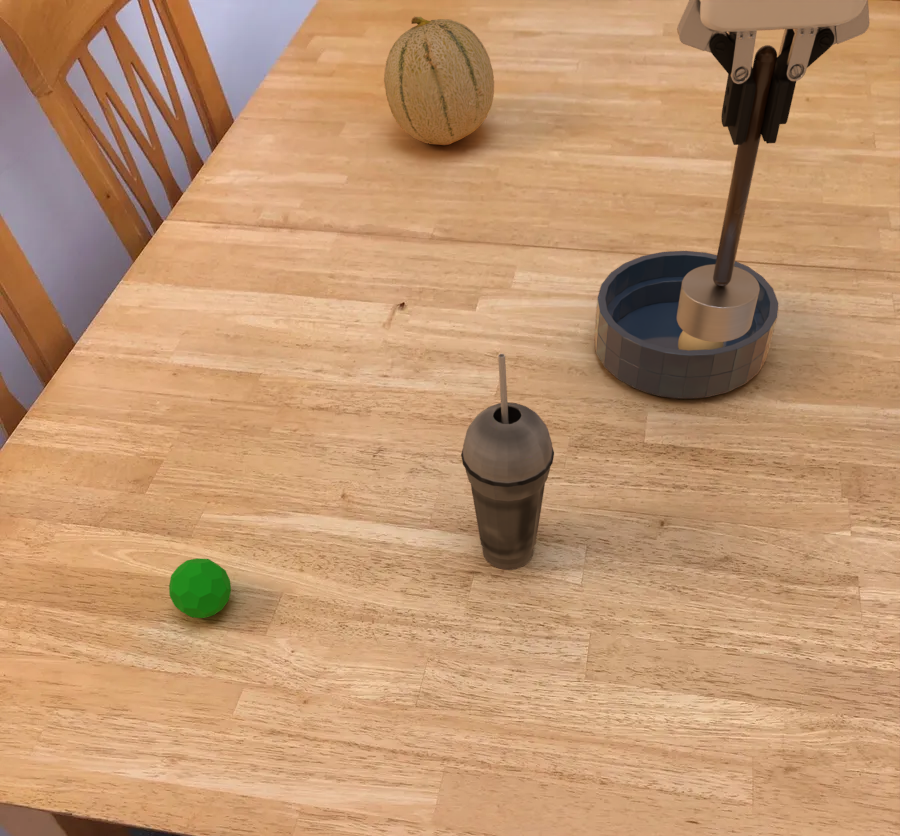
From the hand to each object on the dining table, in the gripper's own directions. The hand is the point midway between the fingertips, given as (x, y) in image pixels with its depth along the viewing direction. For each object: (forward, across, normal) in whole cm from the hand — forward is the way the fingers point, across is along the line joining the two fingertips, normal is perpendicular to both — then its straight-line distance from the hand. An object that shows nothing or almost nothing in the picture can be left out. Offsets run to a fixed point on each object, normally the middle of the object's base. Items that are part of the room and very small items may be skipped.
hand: (750, 133), depth 64 cm
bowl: (+30, -1, -16) cm, 34 cm away
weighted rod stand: (+15, 0, 0) cm, 15 cm away
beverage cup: (+30, +17, +11) cm, 37 cm away
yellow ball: (+27, -3, -13) cm, 30 cm away
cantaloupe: (+30, +25, -64) cm, 75 cm away
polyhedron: (+30, +43, +17) cm, 55 cm away
